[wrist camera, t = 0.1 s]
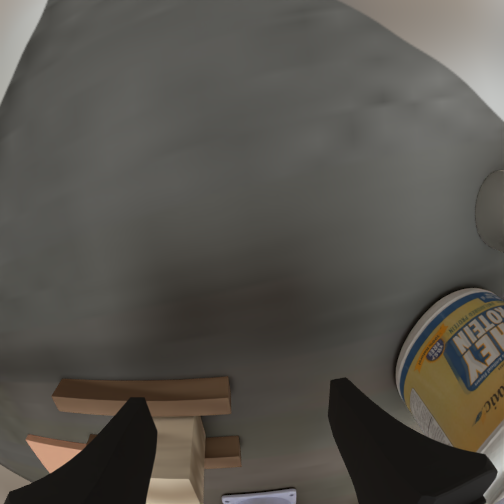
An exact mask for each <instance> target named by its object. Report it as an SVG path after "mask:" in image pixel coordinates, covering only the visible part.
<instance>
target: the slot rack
mask: <svg viewBox="0 0 504 504" xmlns="http://www.w3.org/2000/svg"><path fill="white" fill-rule="evenodd" d="M130 397H145V400H146V402H147V405H148V408H149V411H150V413H151V416H152V417H176V416H204V415H221V414H231V391H230V385H229V379H228V376H226V377H214V378H199V379H180V380H148V381H110V380H79V379H62V380H61V382H60V383H59V385H58V386H57V388H56V390H55V391H54V393H53V395H52V398H53V400H54V402H55V404H56V406H57V408H58V410H59V411H64V412H73V413H83V414H96V415H112V416H115V415H116V413H117V412H118V411H119V410H120V409H121V407H122V406H123V405H124V404H125V403H126V402H127V400H128V399H129V398H130ZM96 436H97V435H92V434H90V437H89V439H88V442H87V444H86V446H87V445H88V444H89V443H90V442H91V441H92V440H93V439H94V438H95V437H96ZM230 467H242V466H241V451H240V442H239V437H238V436H226V437H209V438H205V462H204V469H210V468H230Z"/></svg>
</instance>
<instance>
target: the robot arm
mask: <svg viewBox="0 0 504 504" xmlns="http://www.w3.org/2000/svg"><path fill="white" fill-rule="evenodd" d="M328 418H329V422H330V426H331V430H332V433H333V437H334V439H335V442H336V444H337V446H338V449H339V451H340V453H341V456H342V458H343V460H344V463H345V465H346V467H347V470H348V472H349V474H350V477H351V479H352V482H353V485H354V488H355V491H356V495H357V498H358V502H359V504H485V503H486V499H485V497H484V496H483V495H484V493H485V492H486V491H487V490H488V488H489V487H490V486H491V484H492V483H493V482H494V480H495V479H496V476H497V473H498V471H497V469H496V468H495V466H494V465H493V463H492V462H491V460H490V459H489V458H488V457H487V456H486V455H485V454H482V453H477V452H472V451H467V450H463V449H459V448H456V447H452V446H449V445H446V444H444V443H441V442H438V441H436V440H434V439H431V438H429V437H427V436H424V435H422V434H420V433H418V432H416V431H415V430H413V429H411V428H409V427H407V426H406V425H404V424H403V423H401V422H399V421H398V420H396V419H395V418H394V417H392V416H391V415H389V414H388V413H387V412H385V411H384V410H383V409H381V408H380V407H379V406H378V405H376V404H375V403H374V402H373V401H372V400H370V399H369V398H368V397H367V396H366V395H365V394H364V393H362V392H361V391H360V390H359V389H358V388H357V387H356V386H355V385H354V384H353V383H352V382H351V381H349V380H348V379H347V378H346V377H345V378H340V379H334V380H331V382H330V397H329V409H328ZM157 434H158V431H157V429H156V426H155V424H154V421H153V418H152V416H151V413H150V411H149V408H148V405H147V402H146V400H145V397H130V398H129V399H128V400H127V402H126V403H125V404H124V405H123V406H122V407H121V409H120V410H119V411H118V412H117V413H116V415H115V416H114V417H113V418H112V419H111V421H110V422H109V423H108V424H107V425H106V426H105V427H104V428H103V430H102V431H101V432H100V433H99V434H98V435H97V436H96V437H95V438H94V439H93V440H92V441H91V442H90V443H89V444H88V445H87V446H86V447H85V448H84V449H83V450H82V451H80V452H79V453H78V454H77V455H76V456H74V457H73V458H72V459H71V460H69V461H68V462H67V463H65V464H64V465H62V466H61V467H59V468H58V469H56V470H55V471H53V472H52V473H50V474H48V475H47V476H45V477H43V478H41V479H39V480H37V481H35V482H33V483H31V484H29V485H26V486H24V487H21V488H19V489H16V490H13V491H10V492H9V494H8V496H7V498H6V500H5V503H4V504H146V499H147V494H148V489H149V484H150V479H151V475H152V470H153V465H154V460H155V456H156V448H157ZM222 501H223V504H296V489H286V490H279V491H271V492H262V493H252V494H239V495H224V496H222ZM495 504H504V498H503V499H501V500H499V501H498V502H496V503H495Z"/></svg>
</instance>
